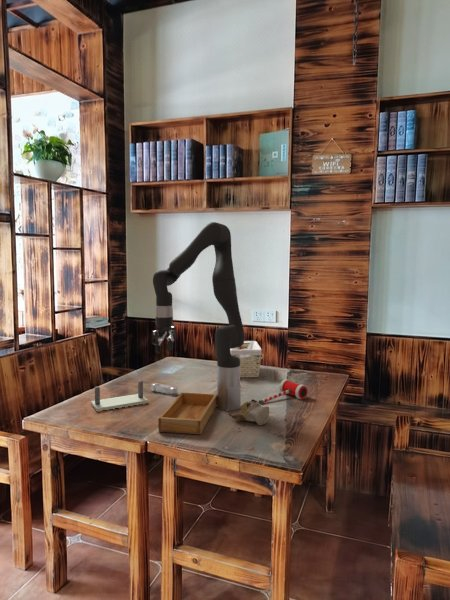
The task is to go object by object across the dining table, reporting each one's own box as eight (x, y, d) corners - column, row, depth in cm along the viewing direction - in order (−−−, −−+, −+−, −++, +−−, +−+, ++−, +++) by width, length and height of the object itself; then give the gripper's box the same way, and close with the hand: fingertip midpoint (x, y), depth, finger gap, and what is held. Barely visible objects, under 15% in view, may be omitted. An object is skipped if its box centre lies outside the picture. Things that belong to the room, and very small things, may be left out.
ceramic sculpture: (259, 406, 161) (227, 399, 170) (260, 430, 161) (227, 422, 171) (276, 399, 169) (244, 393, 178) (277, 422, 169) (245, 415, 179)
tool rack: (140, 396, 198) (139, 377, 197) (148, 403, 189) (147, 383, 188) (91, 404, 188) (90, 384, 187) (96, 412, 179) (96, 391, 178)
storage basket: (227, 366, 250) (227, 340, 248) (256, 366, 251) (256, 340, 249) (229, 379, 226) (229, 349, 224) (262, 378, 227) (262, 349, 225)
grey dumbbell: (179, 393, 202) (179, 387, 202) (174, 396, 199) (174, 389, 199) (155, 388, 209) (154, 382, 209) (149, 391, 206) (149, 384, 206)
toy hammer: (269, 409, 184) (270, 393, 184) (250, 401, 193) (251, 386, 193) (308, 398, 198) (308, 384, 197) (289, 391, 207) (289, 377, 207)
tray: (181, 404, 189) (181, 391, 189) (217, 406, 187) (217, 393, 186) (158, 433, 159) (157, 417, 159) (200, 436, 157) (200, 420, 156)
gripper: (167, 312, 209) (167, 347, 211) (146, 316, 197) (147, 353, 198) (180, 314, 205) (180, 349, 207) (160, 318, 193) (160, 355, 195)
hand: (164, 351), depth 203 cm, fingers open, 8 cm apart
